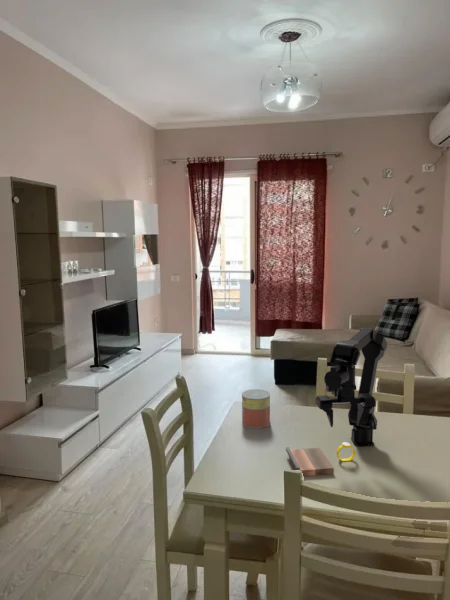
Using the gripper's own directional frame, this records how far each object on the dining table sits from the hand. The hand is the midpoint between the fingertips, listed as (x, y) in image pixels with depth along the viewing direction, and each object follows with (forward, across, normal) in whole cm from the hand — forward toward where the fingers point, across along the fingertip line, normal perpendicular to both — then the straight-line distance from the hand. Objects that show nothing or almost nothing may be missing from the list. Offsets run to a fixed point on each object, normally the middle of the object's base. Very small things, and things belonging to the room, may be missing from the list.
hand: (344, 425), depth 152 cm
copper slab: (+12, +13, +2) cm, 17 cm away
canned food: (+12, +24, -34) cm, 44 cm away
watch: (+12, 0, 0) cm, 12 cm away
